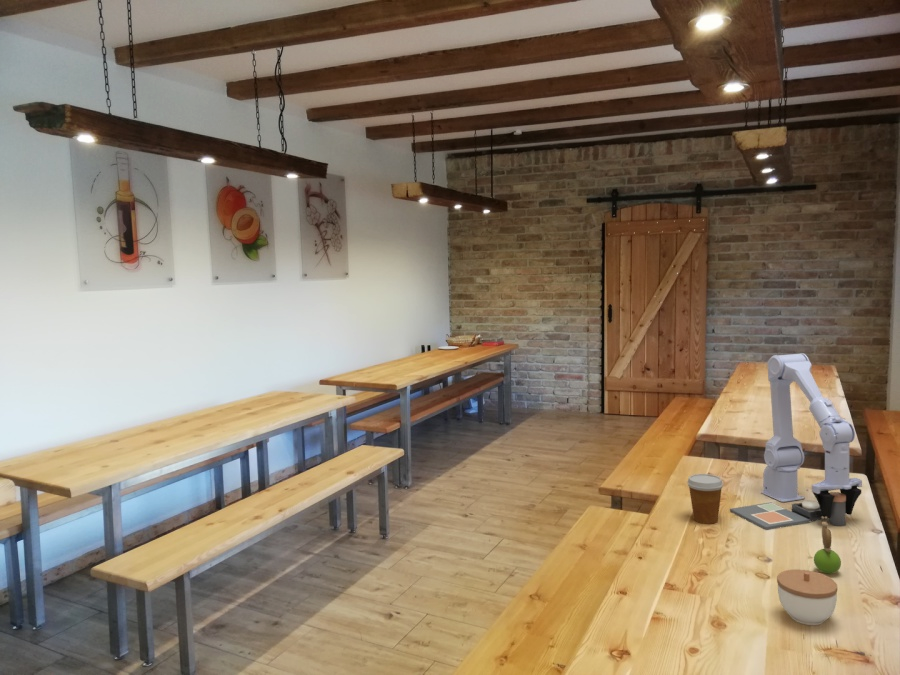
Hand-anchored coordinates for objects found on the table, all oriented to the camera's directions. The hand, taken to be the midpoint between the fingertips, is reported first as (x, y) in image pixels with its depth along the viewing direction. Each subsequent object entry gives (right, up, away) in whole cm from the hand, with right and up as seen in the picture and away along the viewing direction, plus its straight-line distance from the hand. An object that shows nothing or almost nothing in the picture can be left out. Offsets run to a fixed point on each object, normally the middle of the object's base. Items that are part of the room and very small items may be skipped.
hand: (836, 515), depth 181 cm
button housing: (-3, -2, +7) cm, 8 cm away
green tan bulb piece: (-18, -6, -27) cm, 33 cm away
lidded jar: (-32, -9, -46) cm, 57 cm away
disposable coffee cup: (-33, -4, +8) cm, 34 cm away
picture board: (-15, -2, +7) cm, 17 cm away
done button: (-4, 0, +6) cm, 7 cm away
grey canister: (0, -2, 0) cm, 2 cm away
